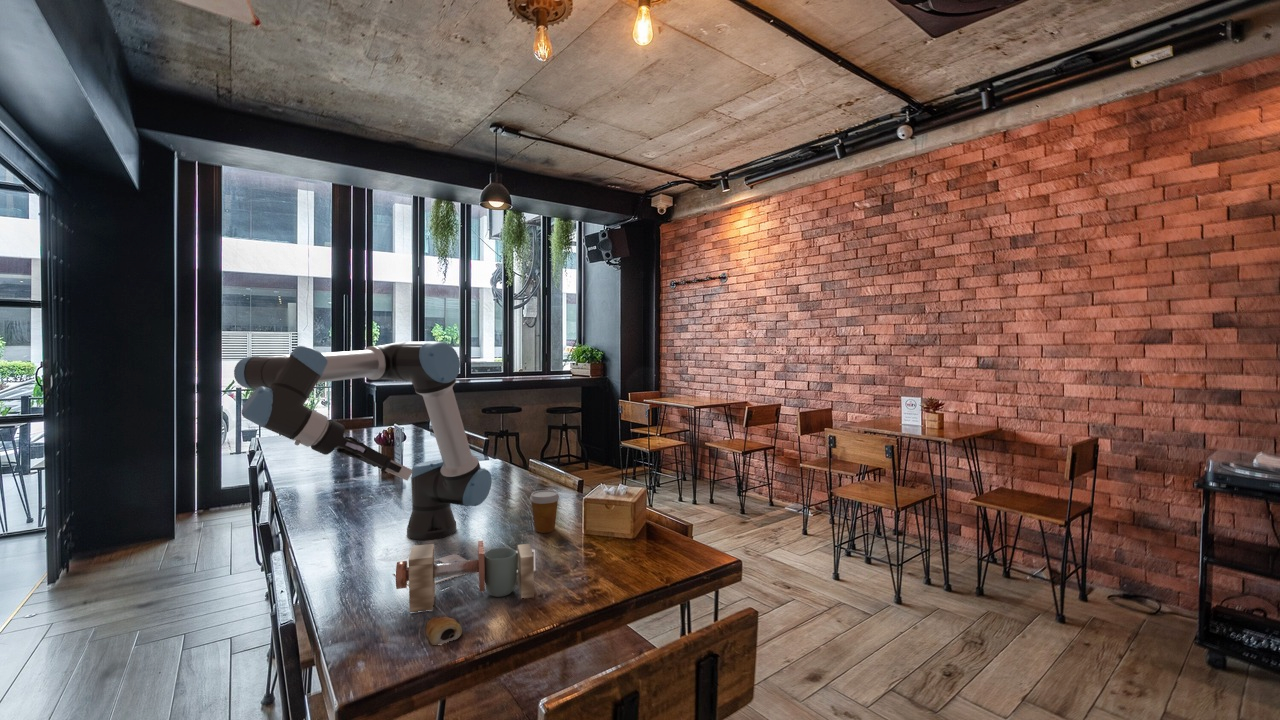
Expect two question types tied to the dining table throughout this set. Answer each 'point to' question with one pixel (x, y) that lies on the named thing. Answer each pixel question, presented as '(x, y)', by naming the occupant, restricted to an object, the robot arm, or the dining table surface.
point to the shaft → (447, 569)
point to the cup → (500, 571)
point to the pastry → (443, 630)
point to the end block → (525, 571)
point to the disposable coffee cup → (544, 510)
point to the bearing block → (421, 578)
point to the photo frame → (447, 560)
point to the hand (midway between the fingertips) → (409, 475)
